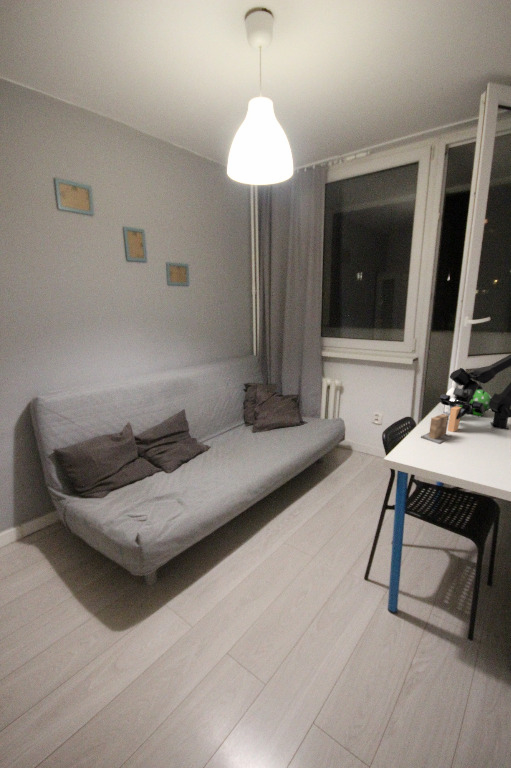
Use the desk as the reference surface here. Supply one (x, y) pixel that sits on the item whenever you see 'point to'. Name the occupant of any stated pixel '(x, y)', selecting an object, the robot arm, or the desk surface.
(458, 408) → the block
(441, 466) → the desk surface
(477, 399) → the piggy bank
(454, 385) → the bath foam
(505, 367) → the robot arm
